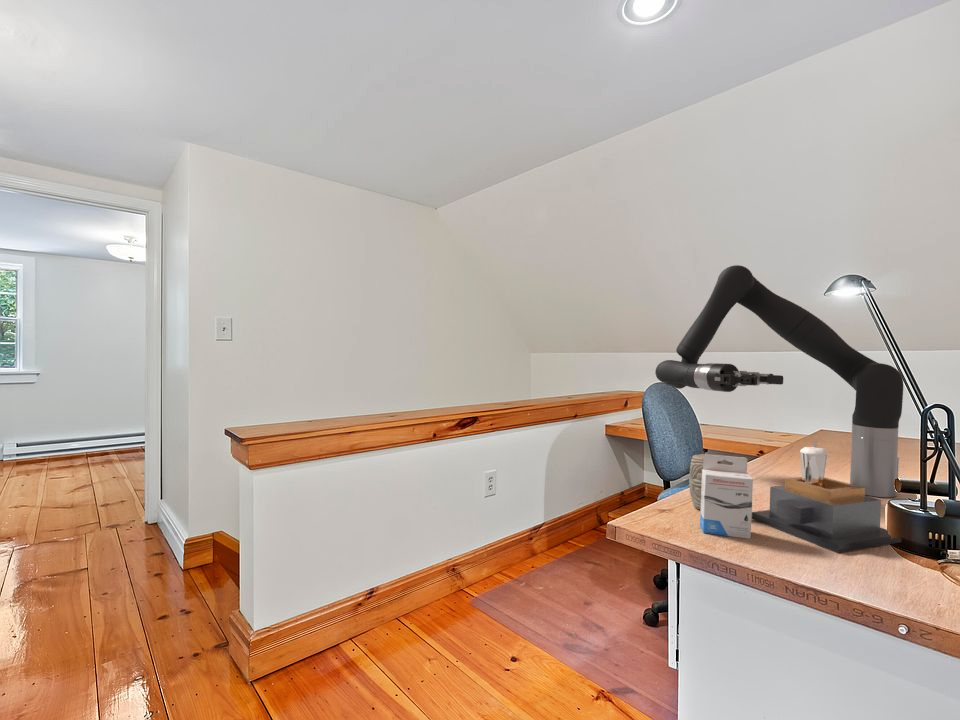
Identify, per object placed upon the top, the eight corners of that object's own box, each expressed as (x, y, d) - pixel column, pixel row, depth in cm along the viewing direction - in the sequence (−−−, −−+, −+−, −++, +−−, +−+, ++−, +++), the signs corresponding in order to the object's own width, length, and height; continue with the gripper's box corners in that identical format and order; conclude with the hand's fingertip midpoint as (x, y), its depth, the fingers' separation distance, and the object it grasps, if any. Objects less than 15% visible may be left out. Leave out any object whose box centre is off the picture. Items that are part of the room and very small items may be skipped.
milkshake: (827, 491, 99) (829, 442, 99) (825, 496, 95) (826, 445, 95) (801, 487, 102) (802, 439, 102) (797, 492, 98) (798, 442, 97)
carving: (695, 502, 114) (696, 451, 114) (729, 510, 109) (730, 457, 109) (683, 508, 110) (684, 455, 110) (717, 516, 105) (719, 461, 104)
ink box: (702, 533, 95) (705, 458, 94) (699, 525, 100) (701, 453, 99) (751, 539, 92) (754, 462, 92) (746, 530, 97) (748, 457, 97)
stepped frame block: (809, 511, 109) (810, 469, 109) (901, 542, 92) (903, 492, 92) (748, 519, 103) (749, 475, 103) (834, 553, 86) (836, 500, 86)
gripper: (695, 363, 130) (747, 365, 115) (736, 363, 135) (791, 364, 120) (695, 391, 131) (747, 396, 115) (735, 390, 135) (790, 395, 120)
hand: (769, 380), depth 118 cm, fingers open, 8 cm apart
